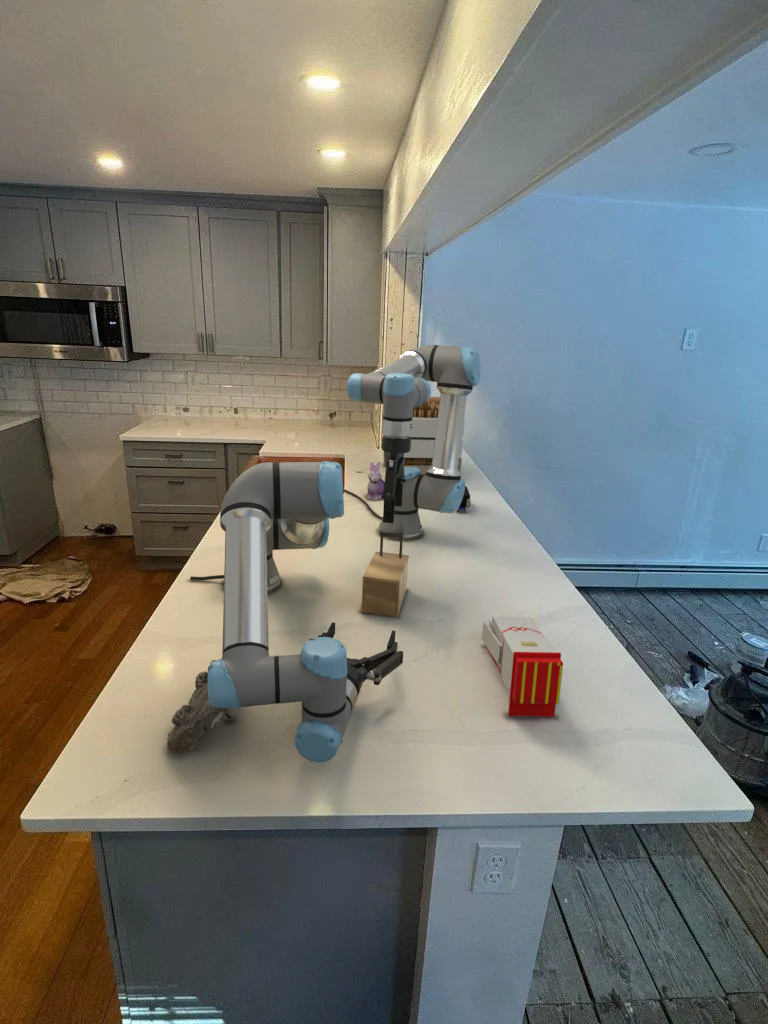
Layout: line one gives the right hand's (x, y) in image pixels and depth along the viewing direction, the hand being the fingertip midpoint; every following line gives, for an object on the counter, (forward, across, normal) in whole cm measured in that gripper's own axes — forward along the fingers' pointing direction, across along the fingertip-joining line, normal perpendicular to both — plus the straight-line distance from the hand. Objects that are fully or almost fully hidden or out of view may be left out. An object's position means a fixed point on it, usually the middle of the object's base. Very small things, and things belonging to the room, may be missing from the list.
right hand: (392, 513), depth 152 cm
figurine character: (+23, +78, -16) cm, 82 cm away
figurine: (+23, +80, +20) cm, 86 cm away
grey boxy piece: (+23, +123, +7) cm, 125 cm away
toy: (+23, -32, -34) cm, 52 cm away
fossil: (+23, -60, +24) cm, 68 cm away
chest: (+23, -6, 0) cm, 24 cm away
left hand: (+16, -34, 0) cm, 38 cm away
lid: (+13, -6, 0) cm, 15 cm away
